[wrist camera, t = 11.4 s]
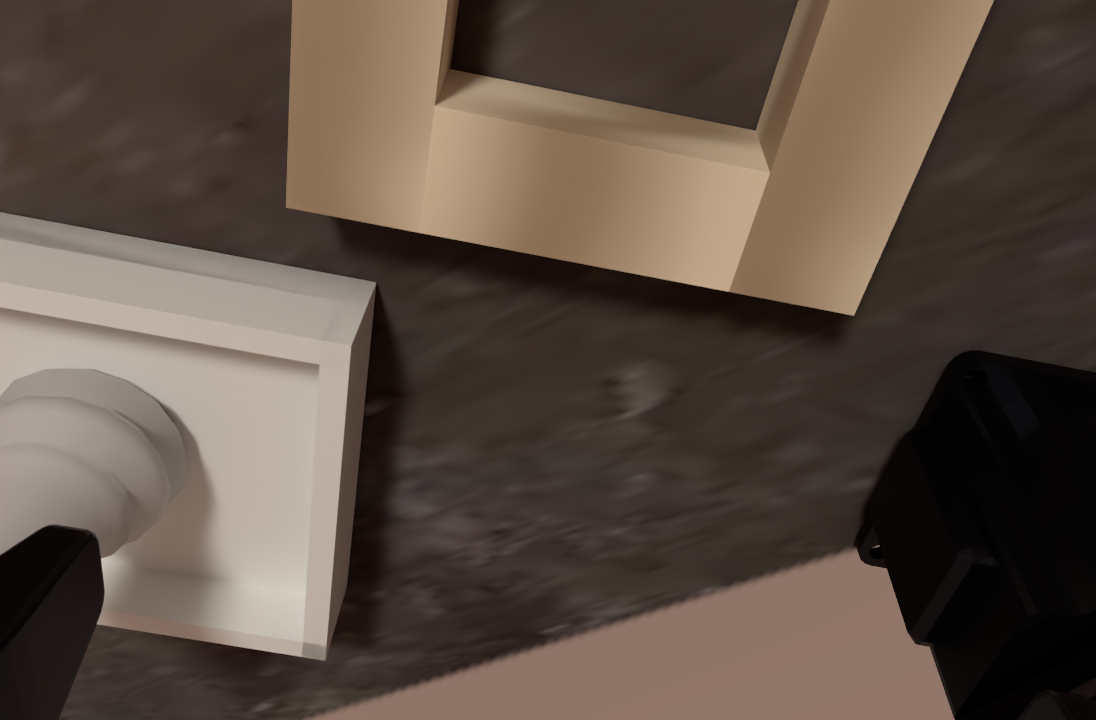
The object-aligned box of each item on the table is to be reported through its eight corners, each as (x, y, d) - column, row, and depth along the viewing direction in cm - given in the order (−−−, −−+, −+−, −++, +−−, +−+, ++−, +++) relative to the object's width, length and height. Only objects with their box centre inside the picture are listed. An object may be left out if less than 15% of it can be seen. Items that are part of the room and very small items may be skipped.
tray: (376, 282, 21) (351, 345, 19) (347, 586, 27) (325, 660, 24) (-189, 177, 20) (-279, 231, 18) (-94, 513, 26) (-155, 583, 24)
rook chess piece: (157, 528, 24) (-10, 837, 18) (-18, 449, 23) (-269, 750, 16) (224, 416, 22) (62, 722, 15) (34, 321, 21) (-232, 611, 14)
